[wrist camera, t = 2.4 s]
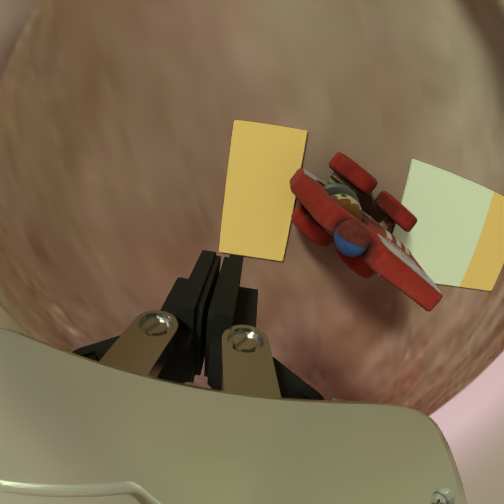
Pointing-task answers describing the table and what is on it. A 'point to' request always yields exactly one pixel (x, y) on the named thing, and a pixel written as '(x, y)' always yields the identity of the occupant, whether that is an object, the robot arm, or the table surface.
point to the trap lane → (417, 240)
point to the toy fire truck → (360, 227)
